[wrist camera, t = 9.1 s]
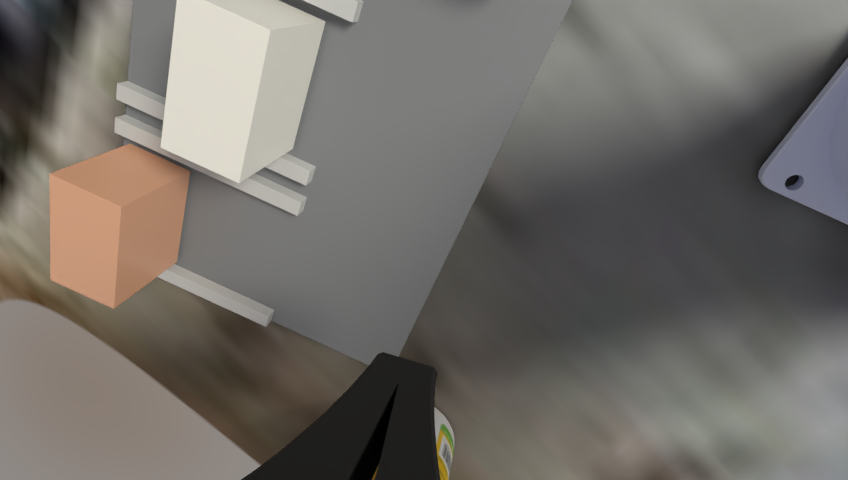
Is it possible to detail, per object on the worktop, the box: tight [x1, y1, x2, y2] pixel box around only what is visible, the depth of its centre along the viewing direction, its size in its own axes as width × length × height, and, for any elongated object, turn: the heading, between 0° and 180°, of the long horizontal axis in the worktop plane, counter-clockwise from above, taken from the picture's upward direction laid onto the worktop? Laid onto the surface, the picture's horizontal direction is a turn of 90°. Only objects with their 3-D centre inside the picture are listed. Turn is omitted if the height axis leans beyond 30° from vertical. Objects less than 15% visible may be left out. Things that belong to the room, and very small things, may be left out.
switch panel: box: [114, 0, 572, 365], centre depth 16 cm, size 13×22×4 cm, turn 158°
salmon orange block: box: [49, 144, 190, 309], centre depth 18 cm, size 2×4×4 cm, turn 159°
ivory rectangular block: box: [161, 0, 326, 183], centre depth 15 cm, size 2×4×4 cm, turn 158°
